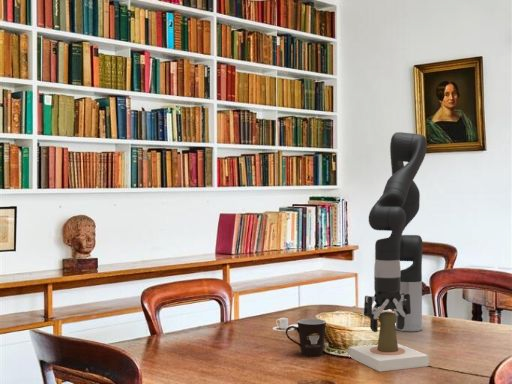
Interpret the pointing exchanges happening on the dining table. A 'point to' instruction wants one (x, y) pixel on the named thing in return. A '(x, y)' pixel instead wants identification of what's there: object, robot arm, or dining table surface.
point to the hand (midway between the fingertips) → (387, 330)
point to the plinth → (388, 358)
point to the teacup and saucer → (284, 324)
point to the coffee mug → (310, 336)
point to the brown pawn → (387, 333)
